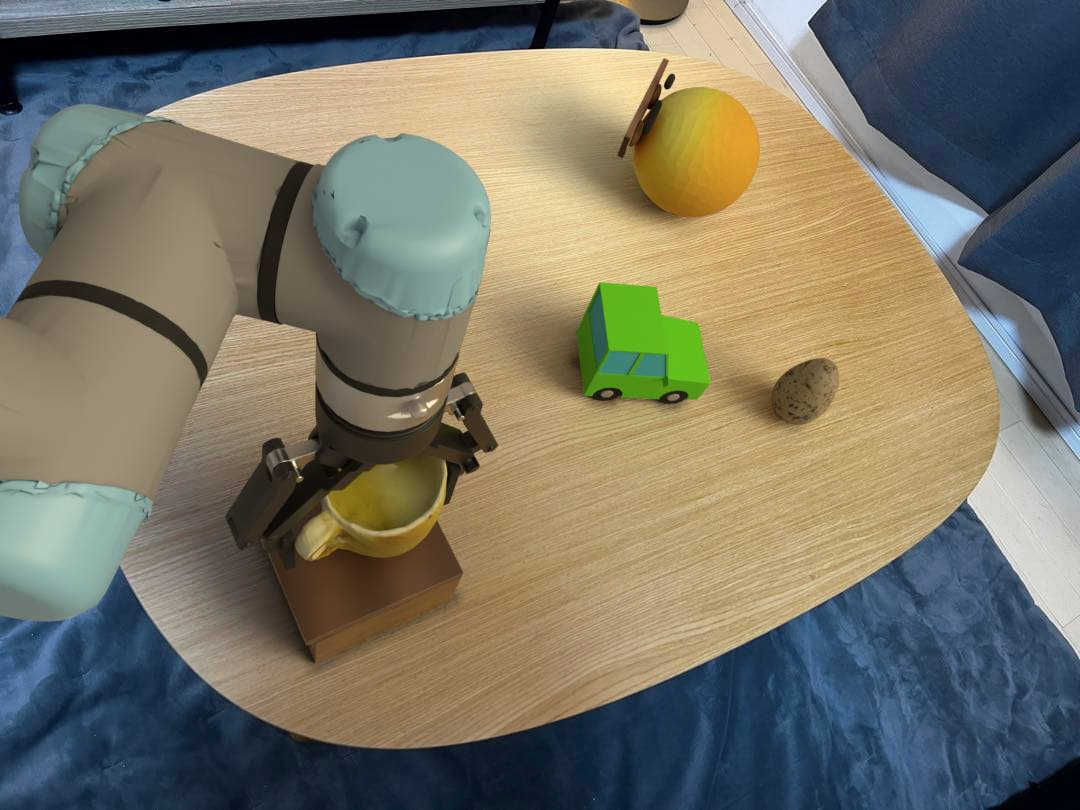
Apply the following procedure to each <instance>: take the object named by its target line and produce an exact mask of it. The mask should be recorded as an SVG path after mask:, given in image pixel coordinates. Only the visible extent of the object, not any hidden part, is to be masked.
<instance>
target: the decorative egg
mask: <svg viewBox="0 0 1080 810" xmlns="http://www.w3.org/2000/svg"><path fill="white" fill-rule="evenodd" d="M839 384H840V372H839V368H838V366H837V364H836V363H835V362H834V361H832V360H831V359H828V358H826V357H825V358H824V357H818V358H811V359H808V360H806V361H805V360H804V361H802V362H800V363H798V364H796V365H794V366H792V367H791V368H789V369H788V370H786V371H785V372H784V373H782V375H781V376H780V377H779V378H778V379H777V381H776V382H775V383H774V385H773V388H772V389H771V394H770V403H771V407H772V410H773V412H774V413H775V415H776V417H778V418H779V420H781V421H783V422H784V423H786V424H789V425H793V426H802V425H807V424H810V423H812V422H814V421H816V420H817V419H819V418H820V417H821V416H822V415H823V414H825V412H826V411H827V410H828V408H829V407H830V406H831V404H832V402H833V401H834V399H835V396H836V393H837V392H838V388H839Z"/></svg>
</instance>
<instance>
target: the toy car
mask: <svg viewBox="0 0 1080 810" xmlns="http://www.w3.org/2000/svg"><path fill="white" fill-rule="evenodd" d="M575 332H576V333H575V334H576V340H577V349H578V350H577V351H578V357H579V365H580V374H581V375H580V376H581V383H582V392H583V396H584V397H593V399H595V400H596V401H601V402H606V401H607V402H608V401H612V400H615V399H617V398H619V396H620V398H621V399H622V398H623V399H641V400H659V401H660V402H661V404H665V405H675V404H678V403H682V402H683V401H685V400H686V401H687V400H688V401H690V400H691V401H693V400H694V401H697V400H699V398H700V397H701V396H703V394H704V393H705V391H706V390H707V389H708V388H709V386H711V377H710V372H709V367H708V363H707V359H706V352H705V348H704V343H703V338H702V333H701V332H702V331H701V329H700V326H699V322H697V321H692V320H688V319H687V320H686V319H682V318H677V317H672V316H668V315H663V314H662V309H661V304H660V297H659V292H658V287H657V286H649V285H638V284H627V283H615V282H614V283H613V282H602V281H599V282H598V285H597V286H596V289H595V290H594V293H593V294H592V297H591V299H590V302H589V304H588V306H587V308H586V309H585V312H584V313H583V316H582V318H581V320H580V322H579V324H578V327H577V329H576V331H575Z"/></svg>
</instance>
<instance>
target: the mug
mask: <svg viewBox="0 0 1080 810" xmlns="http://www.w3.org/2000/svg"><path fill="white" fill-rule="evenodd" d="M338 469H339V468H338ZM341 470H342V469H339V472H340V471H341ZM446 482H447V467H446V461H445V460H443V459H440V458H436V457H433V456H430V455H428V456H427V457H426V458H424V459H422V458H419V457H415V456H414V457H412V458H410V459H407V460H405V461H402V462H398V463H394V464H386V465H376V466H375V467H373V468H372V469H371V470H370V471H368V472H363V473H361V474H360V475H359V476H358V477H357V478H356V479H355V480H354V481H353V482H351V483H350V484H349V485H348V486H347V487H346V488H345V489H343V490H337V491H331V492H330V493H329V494H328V495H327V496H326V497H325V498H324V499H322V500H321V503H322V512H321V513H320V514H319V515H317V516H316V517H314V518H312V519H311V520H310V521H309V522H308V523H307V524H306V525H305V526H304V527H303V529H302V530H301V532H300V533H299V534H298V536H297V537H296V539H295V541H294V542H295V547H296V550H297V552H298V553H299V554H300V555H301V556H302V557H303V558H304V559H305V560H309V561H313V560H318V559H320V558H322V557H324V556H328V555H329V554H330V553H331V552H332V551H334V550H336V549H337V548H339V549H345V550H350V551H353V552H356V553H359V554H361V555H367V556H372V557H379V558H387V557H393V556H398V555H400V554H403V553H405V552H407V551H409V550H410V549H412V548H414V547H415V546H416V545H417V544H419V543H420V542H421V541H422V540H423V539H424V538H425V537H426V536H427V535H428V533H429V532H430V530H431V529H432V527H433V526H434V524H435V522H436V521H438V519H439V517H440V515H441V513H442V510H443V508H444V506H443V504H444V500H445V496H446Z"/></svg>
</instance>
